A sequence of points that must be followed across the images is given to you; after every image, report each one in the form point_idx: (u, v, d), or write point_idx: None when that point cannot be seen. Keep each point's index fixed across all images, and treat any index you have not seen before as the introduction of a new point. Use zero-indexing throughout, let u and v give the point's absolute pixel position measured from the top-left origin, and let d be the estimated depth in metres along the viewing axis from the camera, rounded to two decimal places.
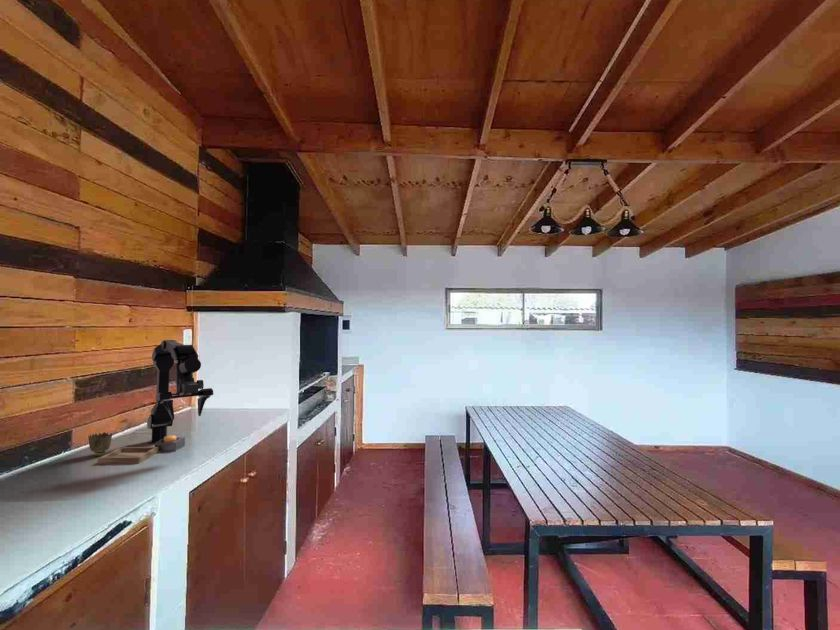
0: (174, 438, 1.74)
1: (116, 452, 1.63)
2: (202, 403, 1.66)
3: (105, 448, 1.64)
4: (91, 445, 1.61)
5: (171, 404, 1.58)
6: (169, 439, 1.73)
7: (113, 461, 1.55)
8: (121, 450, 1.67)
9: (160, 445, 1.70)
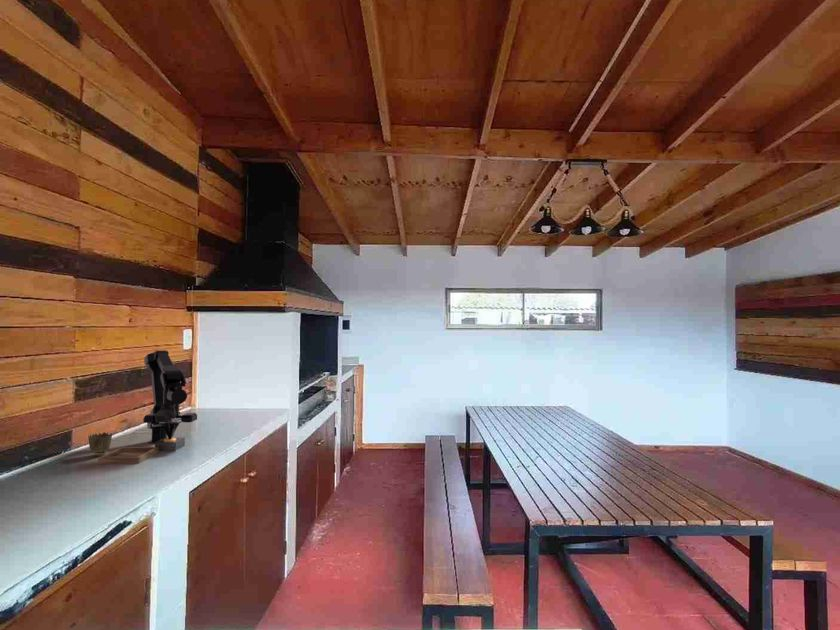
0: (174, 440, 1.74)
1: (116, 452, 1.63)
2: (171, 428, 1.74)
3: (105, 448, 1.64)
4: (91, 445, 1.61)
5: (166, 426, 1.73)
6: (169, 441, 1.73)
7: (113, 461, 1.55)
8: (121, 450, 1.67)
9: (160, 445, 1.70)
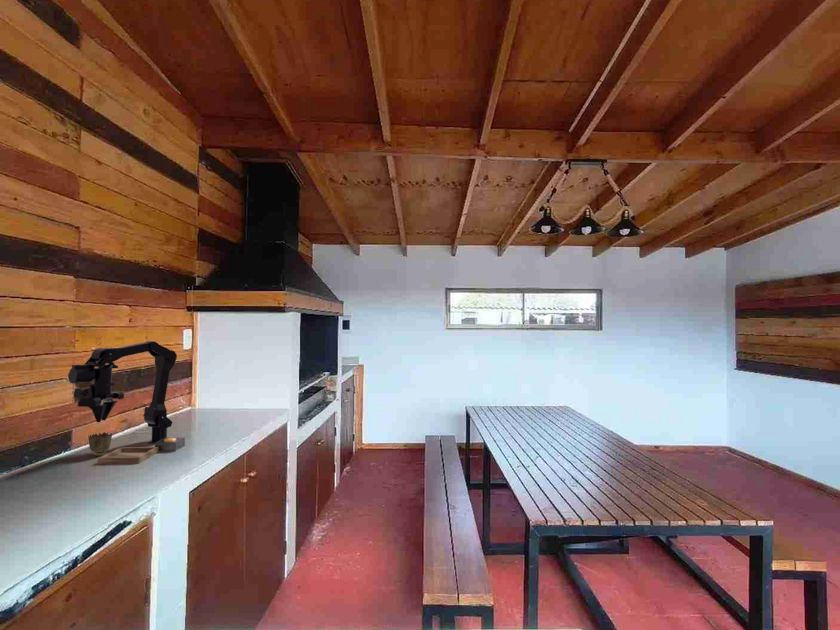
0: (174, 440, 1.74)
1: (116, 452, 1.63)
2: None
3: (105, 448, 1.64)
4: (91, 445, 1.61)
5: None
6: (169, 441, 1.73)
7: (113, 461, 1.55)
8: (121, 450, 1.67)
9: (160, 445, 1.70)
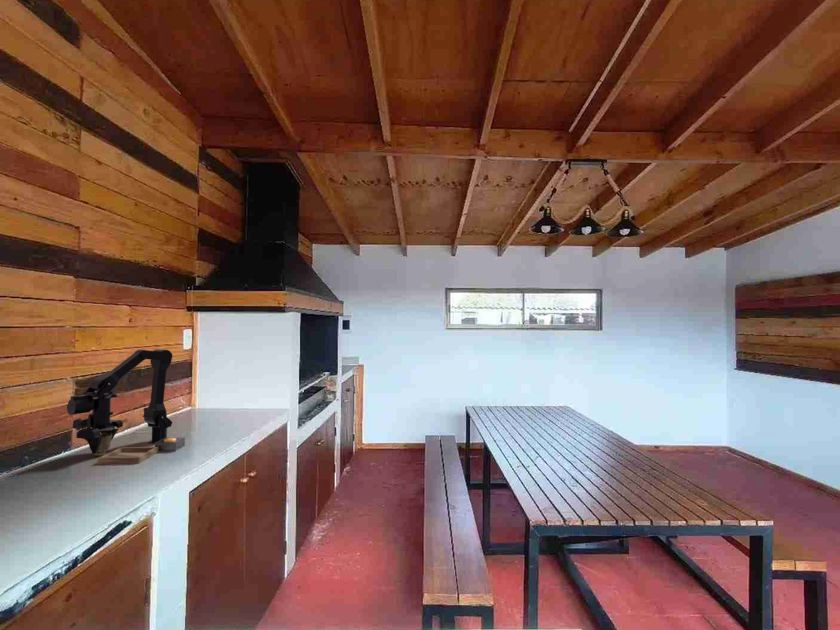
0: (174, 440, 1.74)
1: (116, 452, 1.63)
2: None
3: (105, 448, 1.64)
4: None
5: None
6: (169, 441, 1.73)
7: (113, 461, 1.55)
8: (121, 450, 1.67)
9: (160, 445, 1.70)
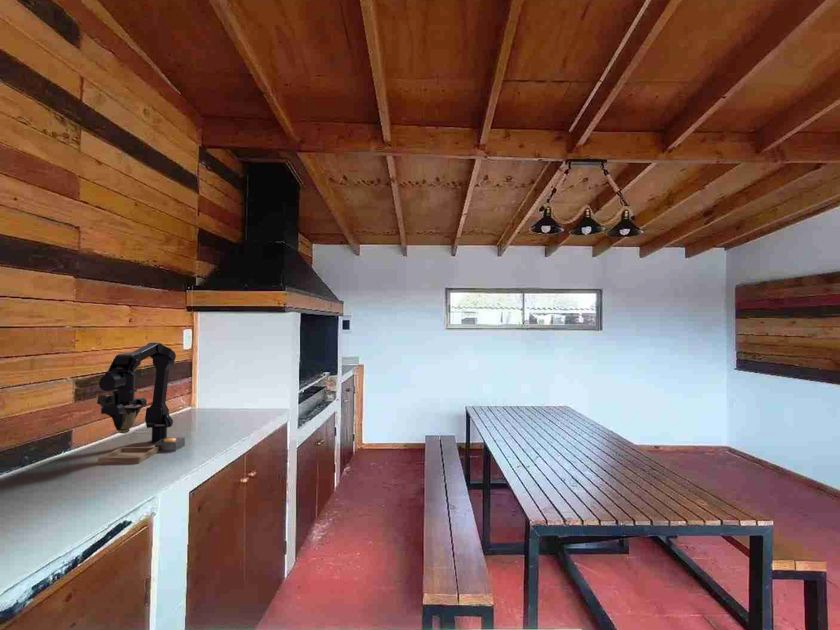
0: (174, 440, 1.74)
1: (116, 452, 1.63)
2: None
3: (129, 425, 1.61)
4: None
5: None
6: (169, 441, 1.73)
7: (113, 461, 1.55)
8: (121, 450, 1.67)
9: (160, 445, 1.70)
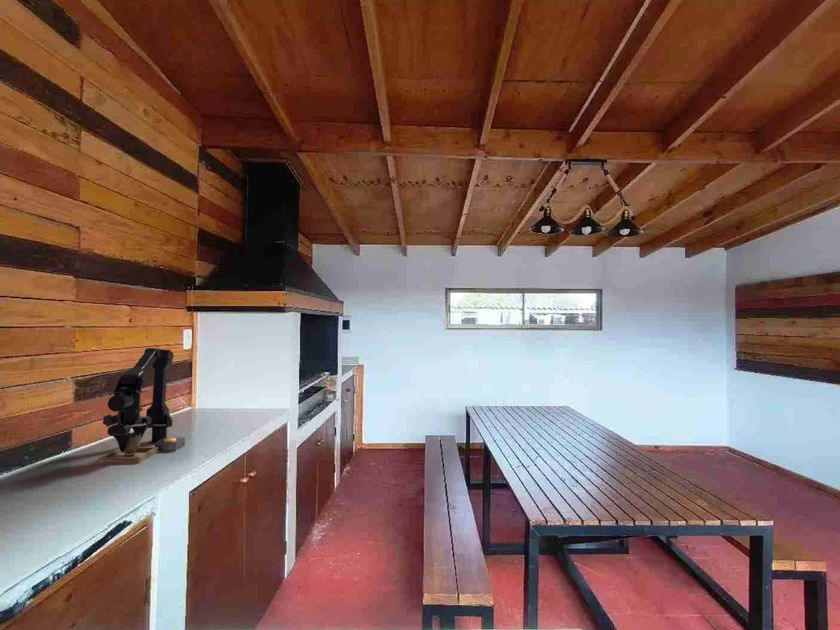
0: (174, 440, 1.74)
1: (116, 452, 1.63)
2: None
3: (135, 448, 1.61)
4: None
5: None
6: (169, 441, 1.73)
7: (113, 461, 1.55)
8: None
9: (160, 445, 1.70)
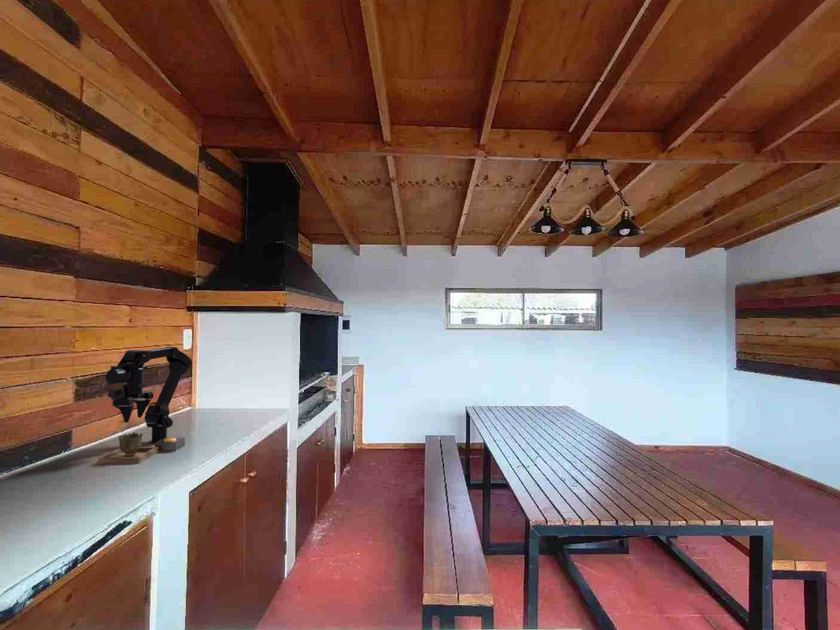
0: (174, 440, 1.74)
1: (116, 452, 1.63)
2: None
3: (135, 449, 1.61)
4: (122, 446, 1.59)
5: None
6: (169, 441, 1.73)
7: (113, 461, 1.55)
8: None
9: (160, 445, 1.70)
